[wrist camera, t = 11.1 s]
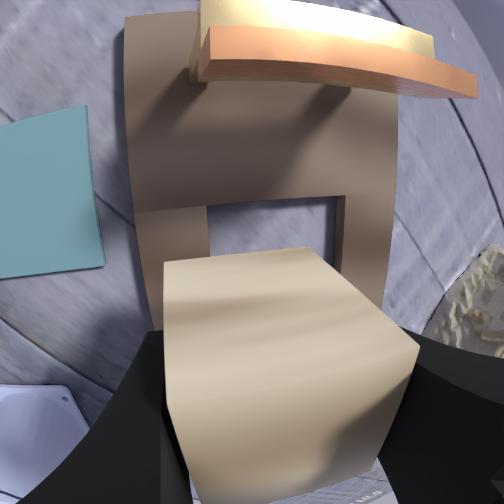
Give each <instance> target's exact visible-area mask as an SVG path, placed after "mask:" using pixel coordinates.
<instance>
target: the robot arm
mask: <svg viewBox="0 0 504 504" xmlns="http://www.w3.org/2000/svg"><path fill="white" fill-rule="evenodd" d="M399 327H400V326H399ZM400 328H401V329H402V330H403V331H404V332H405V333H406V334H408V335H409V336H410V337H411V338H412V339H413V340H414V341H415V342H416V343H417V344H418V345H419V346H420V349H419V353H418V356H417V359H416V362H415V365H414V368H413V371H412V374H411V376H410V379H409V382H408V385H407V388H406V390H405V393H404V396H403V398H402V401H401V403H400V406H399V408H398V411H397V413H396V416H395V418H394V420H393V423H392V425H391V427H390V430H389V432H388V434H387V436H386V439H385V441H384V443H383V445H382V447H381V449H380V451H379V454H378V456H377V457H378V459H379V461H380V463H381V465H382V467H383V469H384V471H385V473H386V476H387V478H388V480H389V482H390V485H391V487H392V489H393V491H394V493H395V496H396V498H397V501H398V504H504V358H499V357H494V356H488V355H483V354H478V353H474V352H470V351H466V350H463V349H459V348H456V347H452V346H449V345H446V344H443V343H440V342H437V341H434V340H432V339H429V338H427V337H424V336H421V335H419V334H416V333H414V332H411V331H409V330H407V329H404V328H402V327H400ZM65 397H66V398H65ZM0 504H193V500H192V494H191V487H190V479H189V470H188V468H187V465H186V462H185V459H184V456H183V453H182V450H181V447H180V444H179V441H178V438H177V435H176V432H175V429H174V426H173V423H172V419H171V416H170V413H169V409H168V406H167V397H166V379H165V356H164V330H158V331H149V332H148V333H147V334H146V335H145V337H144V339H143V342H142V344H141V346H140V348H139V350H138V352H137V354H136V356H135V358H134V360H133V362H132V364H131V366H130V368H129V369H128V371H127V373H126V375H125V377H124V378H123V380H122V382H121V384H120V385H119V387H118V389H117V390H116V392H115V393H114V395H113V397H112V398H111V400H110V401H109V403H108V404H107V406H106V408H105V409H104V411H103V412H102V413H101V415H100V416H99V418H98V419H97V420H96V422H95V423H94V425H93V426H92V427H91V428H89V426H88V424H87V423H86V421H85V419H84V417H83V416H82V414H81V412H80V410H79V408H78V406H77V404H76V402H75V400H74V398H73V397H72V395H71V393H70V391H69V389H68V388H67V387H65V386H62V385H3V384H0Z"/></svg>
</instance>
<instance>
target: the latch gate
mask: <svg viewBox="0 0 504 504" xmlns="http://www.w3.org/2000/svg"><path fill="white" fill-rule="evenodd" d="M212 81H283V82H302V83H316V84H327V85H337V86H343V87H352V88H362V89H369V90H376V91H382V92H388V93H394V94H399V95H405V96H410V97H415V98H469V99H478V90H477V75H474V74H472V73H469V72H467V71H464V70H462V69H459V68H456V67H454V66H451V65H448V64H446V63H443V62H440V61H437V60H435V55H434V45H433V36H431V35H428V34H425V33H423V32H420V31H417V30H414V29H411V28H408V27H405V26H402V25H399V24H396V23H392V22H389V21H386V20H382V19H379V18H375V17H371V16H367V15H363V14H359V13H355V12H351V11H346V10H341V9H337V8H332V7H326V6H321V5H315V4H308V3H302V2H294V1H286V0H199V4H198V8H197V33H196V36H195V40H194V44H193V47H192V51H191V55H190V59H189V83H196V82H212Z"/></svg>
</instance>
